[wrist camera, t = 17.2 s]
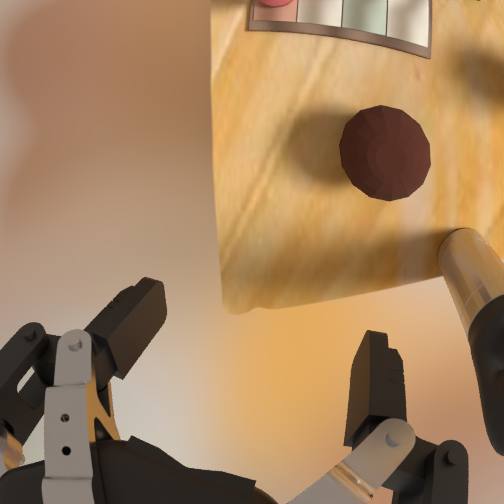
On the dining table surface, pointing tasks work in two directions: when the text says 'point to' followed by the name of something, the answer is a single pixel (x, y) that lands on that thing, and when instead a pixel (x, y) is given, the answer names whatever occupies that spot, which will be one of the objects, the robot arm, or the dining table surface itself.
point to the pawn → (276, 3)
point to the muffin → (385, 153)
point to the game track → (353, 21)
